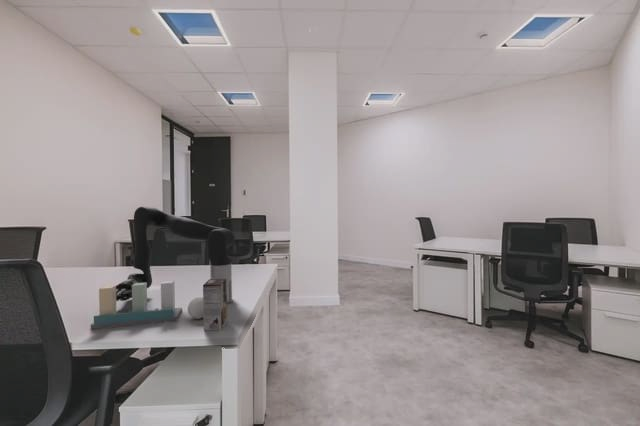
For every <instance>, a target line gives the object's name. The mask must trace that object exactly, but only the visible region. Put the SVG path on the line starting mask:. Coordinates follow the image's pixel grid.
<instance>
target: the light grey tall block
mask: <svg viewBox="0 0 640 426" xmlns="http://www.w3.org/2000/svg"><path fill="white" fill-rule="evenodd" d="M175 296H176V294H175V280H169V281H168V280H166V281H162V282H161V283H160V304H161V305H160V306H161V307H160V309H161V310H168V309H173V312H174V311H175V308H176V301H175V300H176V299H175V298H176V297H175Z"/></svg>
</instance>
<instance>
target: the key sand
mask: <svg viewBox="0 0 640 426" xmlns="http://www.w3.org/2000/svg"><path fill="white" fill-rule="evenodd" d="M116 286H117V285H104V286H102V287H100V288H99V289H98V303H99V305H98V306H99V308H98V309H99V310H98V311H99V314H98V315H109V314H116V313H117V301H116Z"/></svg>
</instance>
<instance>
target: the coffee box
mask: <svg viewBox="0 0 640 426" xmlns="http://www.w3.org/2000/svg"><path fill="white" fill-rule="evenodd" d="M202 288H203V289H202V291H203V293H202V296H203V297H202V298H203V305H204V317H203V331H205V332H207V331H221V330H223V328H224V327H225V326H226V323H227V322H228V303H227V285H226V279H210V278H209V279H208V280H207V281H206V282H205V283H204V284H203V285H202Z"/></svg>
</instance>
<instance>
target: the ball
mask: <svg viewBox="0 0 640 426" xmlns="http://www.w3.org/2000/svg"><path fill="white" fill-rule="evenodd" d="M187 313H188V315H189V316H190V317H191V318H192V319H197V320H200V319H202V318H203V319H204V305H203V297H202V296H201V297H199V296H198V297H195V298H193V299H192V300H191V301H190V302H189V303H188V305H187Z"/></svg>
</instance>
